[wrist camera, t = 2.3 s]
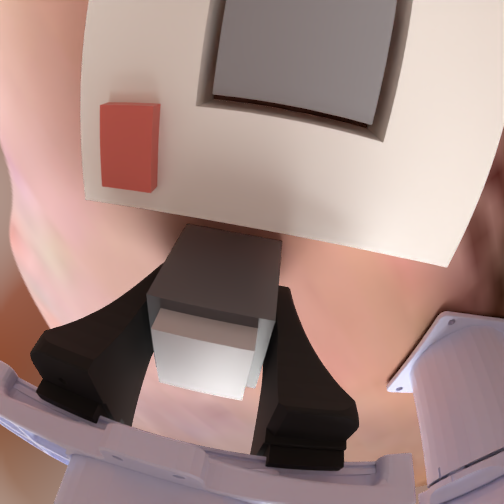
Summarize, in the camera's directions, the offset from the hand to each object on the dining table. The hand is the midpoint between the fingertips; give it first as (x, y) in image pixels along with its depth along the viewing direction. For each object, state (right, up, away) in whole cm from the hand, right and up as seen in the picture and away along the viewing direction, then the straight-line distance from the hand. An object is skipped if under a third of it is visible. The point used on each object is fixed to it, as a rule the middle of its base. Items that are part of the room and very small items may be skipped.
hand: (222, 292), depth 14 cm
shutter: (+3, +9, -6) cm, 11 cm away
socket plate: (+3, +10, -5) cm, 11 cm away
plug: (0, +1, +1) cm, 2 cm away
